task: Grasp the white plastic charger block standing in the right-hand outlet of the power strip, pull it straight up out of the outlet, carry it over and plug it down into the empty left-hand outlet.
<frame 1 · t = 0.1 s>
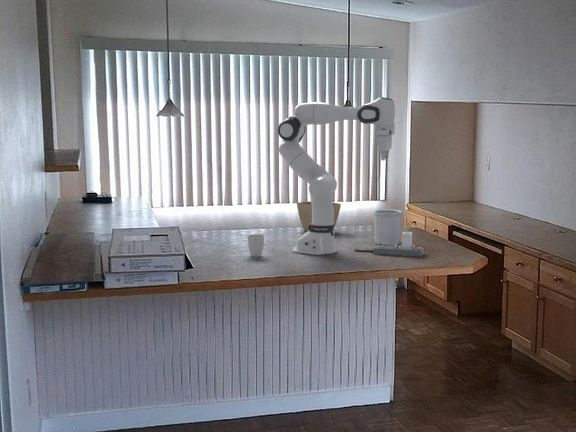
hand: (384, 159, 347), 48 cm above the countertop, fingers open, 8 cm apart
cup: (256, 256, 353), on the countertop
power strip: (398, 253, 358), on the countertop
utensil holder: (386, 243, 386), on the countertop
charger: (406, 248, 357), point 3 cm above the countertop, touching power strip
flower pot: (318, 231, 419), on the countertop
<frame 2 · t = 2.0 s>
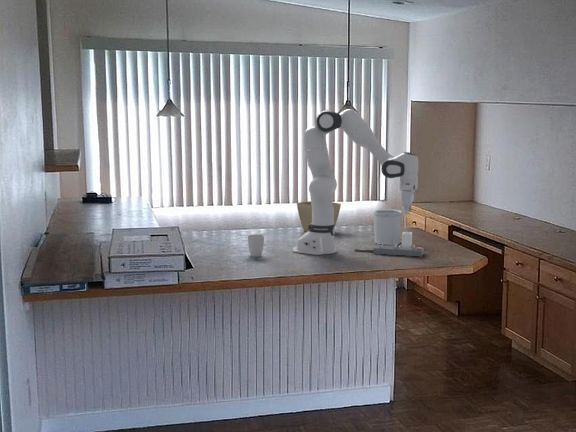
hand: (407, 212, 355), 21 cm above the countertop, fingers open, 8 cm apart
nothing on the countertop moved.
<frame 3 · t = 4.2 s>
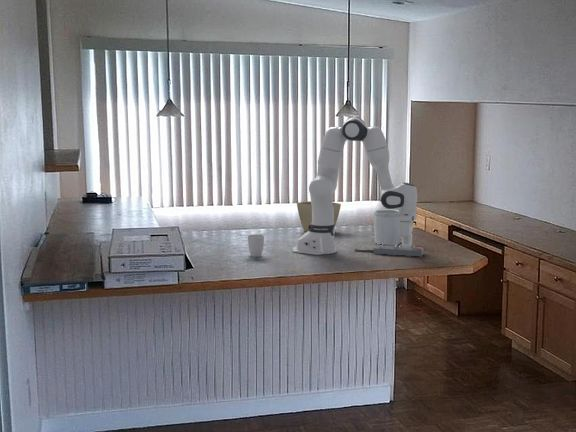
hand: (406, 242, 356), 6 cm above the countertop, fingers closed on charger, 4 cm apart
charger: (406, 248, 357), point 3 cm above the countertop, touching gripper, power strip
everything else where it was.
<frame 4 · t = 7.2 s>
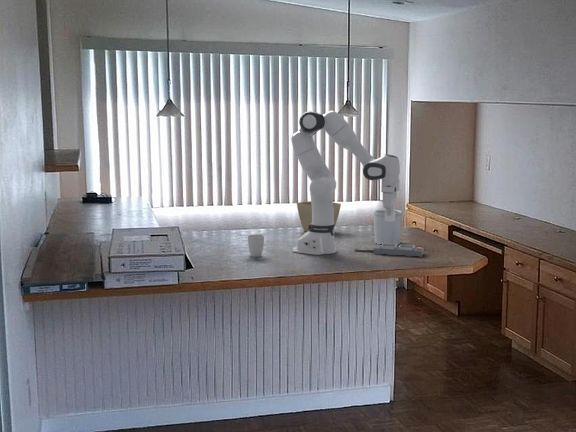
hand: (389, 214, 357), 20 cm above the countertop, fingers closed on charger, 4 cm apart
charger: (389, 220, 357), point 17 cm above the countertop, touching gripper
everything else where it was.
when the fingers open (7 cm above the countertop, at t = 10.2 s): charger stays where it is, resting on power strip.
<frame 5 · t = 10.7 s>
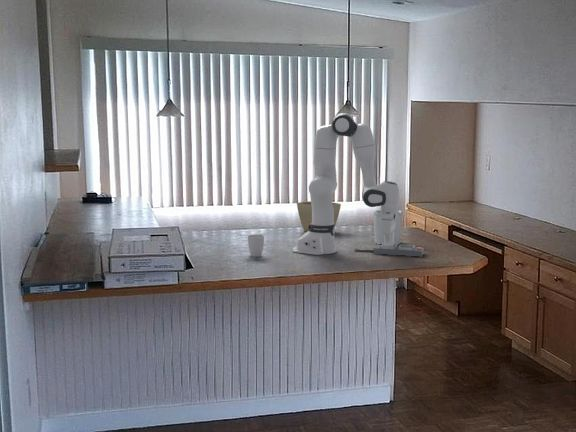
hand: (388, 240, 359), 7 cm above the countertop, fingers open, 8 cm apart
charger: (388, 247, 359), point 3 cm above the countertop, touching power strip
everything else where it was.
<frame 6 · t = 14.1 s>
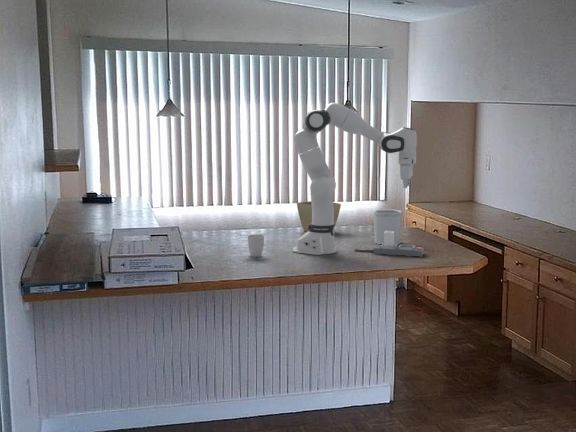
hand: (406, 187, 360), 33 cm above the countertop, fingers open, 8 cm apart
nothing on the countertop moved.
at the end: charger 0.0 cm from the target spot on the power strip, point 3.0 cm above the power strip's base; charger tilted 0°; the gripper is holding nothing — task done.
